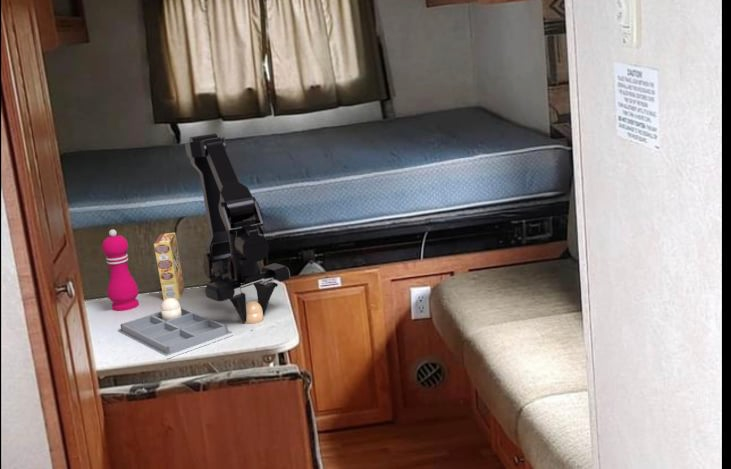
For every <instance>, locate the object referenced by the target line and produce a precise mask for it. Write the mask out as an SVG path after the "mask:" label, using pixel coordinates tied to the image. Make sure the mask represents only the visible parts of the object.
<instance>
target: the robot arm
mask: <svg viewBox="0 0 731 469" xmlns="http://www.w3.org/2000/svg"><path fill="white" fill-rule="evenodd" d="M226 143H227V142H226V138H225V136H219V137H218V135H217V133H215V132H213V133H208V134H207V133H206V134H202V135H201V134H200V135H196V136H194V135H193V136H190V137H189V138H188V142H185V146H184V147H185V153H186V156H187V157H188V158H189V161H190V164H191V165H192V167H193V168H194V169H195V170H196V171H197V172H198V173H199V178H200V185H201V190H202V195H203V200H204V206H205V212H206V218H207V223H208V230H209V235H208V239H207V241H206V244H205V252H206V253H205V254H204V258H203V265H202V267H203V271H204V275H205V276H206V277H207V278H208V279H209V280H210V281H209V282H208V283H207V284H206V287H205V288H204V289H205V290H204V291H205V296H206V298H209V299H211V300H214V301H215V302H224V301H226V300H229V301H230V302H231V303H232V305H233V307H234V309H235V310H236V312H237V314H238V316H239V318H240V320H241V321H242V323H244V322H246V318H247V314H246V303H247V302H246V301H247V300H246V299H247V298H246V293H244V292H242V289H244V288H246V287H249V286H252V285H253V286H254V289H255V290H256V295H257V296H256V297H257V302H258V303H259V304H260V305H261V307H262V311H263V317H264V316H265V314H266V311H267V308H268V305H269V302H270V299H271V298H272V295H273V292H274V291H275V289H276V288H277V287H278V286H279V285H278V283H276V282H275V281H274V278H275V280H276V281H278V282H280V283H281V282H284V281H287V280H290V279H291V273H290V269H289V267H287V266H286V265H284V264H279V263H276V262H275V263H270V264H268V265H264V266H262V267H261V268H260V262H261V261H263V260H264V259H266V257H267V256H268V254H269V253H270V252H269V251H270V244H269V242H268V240H267V238H266V237H264V236H263V235H262V234H260V233H259V229H258V227H262V226H263V227H264V214H263V211H262V209H261V207H260V205H259V202H258V200H256V197H255V196H253V194H252V193H251V190H250V189H249V188H248V187H247V185H245V184H243V183H241V182H240V180H239V178H238V175H237V174H236V172H235V169H234V167H233V165H232V161H231V160H230V156H229V155H228V149H227V144H226Z"/></svg>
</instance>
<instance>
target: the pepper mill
mask: <svg viewBox="0 0 731 469" xmlns="http://www.w3.org/2000/svg"><path fill="white" fill-rule="evenodd" d="M108 234H109V236H107V237H106V238H105V239H103V241H102V243H101V249H102V253H103V254H104V255H105V256H106V258H105V260H106V263H107V265H109V271H110V276H109V282H108V285H107V298H108V299H109V300H110V301H111V302H113V303H111V309H112V311H114V312H125V311H130V310H133V309H137V307H138V306H139V305H140V303H139V300H138V299H137V297H138V295H139V292H140V289H139V286H138V284H137V282H136V281H135V278H133V276H132V275H131V272H130V271H129V266H128V260H129V257H128V256H129V255H128V253H127V251H128V249H129V243H128V240H127V239H126V237H124V236H123V235H117V234H118V233H117V230H115V229H113V228H112V229H110V230H109V232H108Z"/></svg>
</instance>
